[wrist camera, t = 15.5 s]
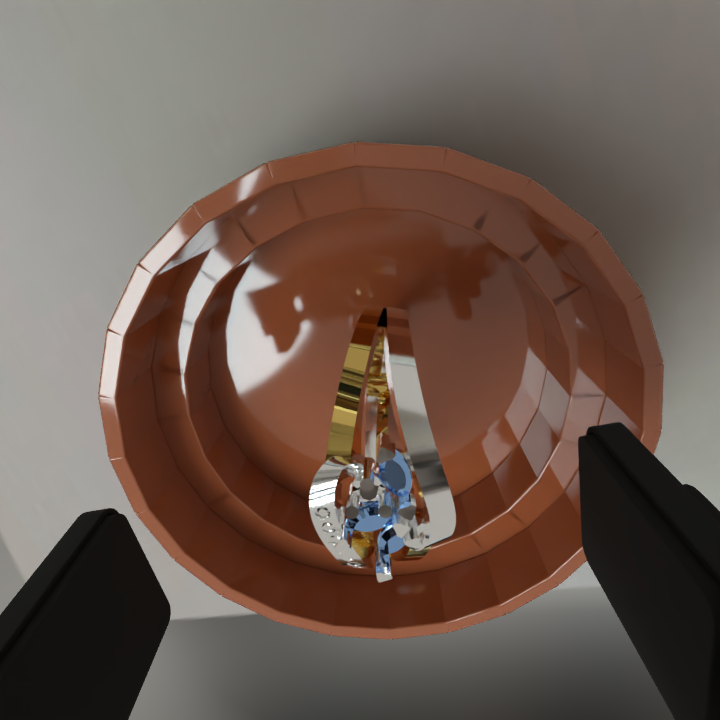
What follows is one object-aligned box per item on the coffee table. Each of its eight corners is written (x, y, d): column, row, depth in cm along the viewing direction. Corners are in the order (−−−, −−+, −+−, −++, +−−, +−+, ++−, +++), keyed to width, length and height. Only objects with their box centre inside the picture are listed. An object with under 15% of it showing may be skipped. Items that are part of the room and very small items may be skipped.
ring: (341, 274, 16) (312, 373, 8) (438, 284, 16) (495, 389, 8) (328, 454, 18) (297, 650, 11) (411, 461, 18) (436, 662, 11)
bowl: (242, 553, 21) (205, 662, 17) (107, 206, 16) (-5, 224, 11) (590, 503, 20) (657, 608, 15) (576, 98, 14) (674, 67, 10)
